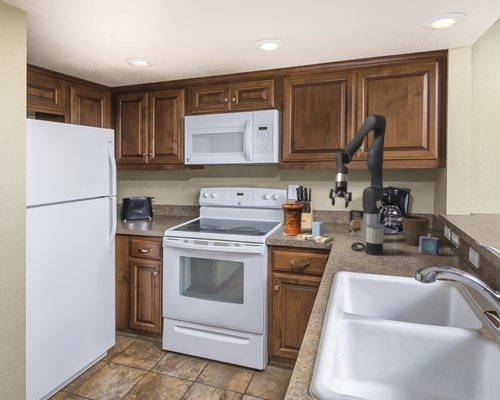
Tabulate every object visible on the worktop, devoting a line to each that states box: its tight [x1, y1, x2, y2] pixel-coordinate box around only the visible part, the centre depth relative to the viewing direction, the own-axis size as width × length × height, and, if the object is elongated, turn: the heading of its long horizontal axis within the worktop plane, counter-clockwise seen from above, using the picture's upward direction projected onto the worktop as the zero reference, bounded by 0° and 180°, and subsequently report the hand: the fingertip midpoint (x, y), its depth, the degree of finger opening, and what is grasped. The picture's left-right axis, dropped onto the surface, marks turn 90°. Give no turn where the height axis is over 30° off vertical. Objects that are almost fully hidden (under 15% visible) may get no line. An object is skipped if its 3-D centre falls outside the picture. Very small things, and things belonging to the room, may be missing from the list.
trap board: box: [297, 232, 334, 244], centre depth 215 cm, size 18×12×2 cm, turn 52°
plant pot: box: [401, 215, 431, 247], centre depth 200 cm, size 15×15×16 cm
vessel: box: [281, 202, 304, 236], centre depth 231 cm, size 14×14×20 cm
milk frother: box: [350, 224, 385, 256], centre depth 184 cm, size 14×16×15 cm
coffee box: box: [348, 209, 364, 237], centre depth 228 cm, size 9×6×16 cm
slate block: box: [311, 221, 324, 236], centre depth 217 cm, size 5×5×8 cm
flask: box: [418, 233, 440, 256], centre depth 180 cm, size 9×3×11 cm, turn 55°
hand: (339, 206), depth 217 cm, fingers open, 8 cm apart
